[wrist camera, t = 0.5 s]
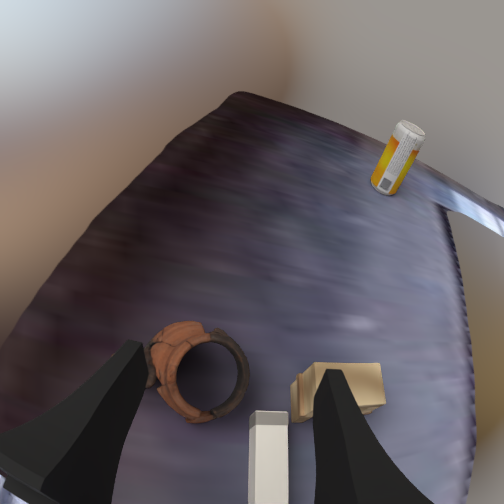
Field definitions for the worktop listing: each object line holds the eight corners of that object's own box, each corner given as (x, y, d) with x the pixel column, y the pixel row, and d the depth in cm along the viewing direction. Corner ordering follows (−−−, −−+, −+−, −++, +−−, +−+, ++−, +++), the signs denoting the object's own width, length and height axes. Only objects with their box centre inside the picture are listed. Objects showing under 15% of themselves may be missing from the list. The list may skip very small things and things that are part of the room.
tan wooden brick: (354, 420, 28) (389, 403, 23) (288, 423, 27) (313, 407, 22) (350, 385, 30) (382, 362, 26) (287, 384, 29) (310, 361, 25)
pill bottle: (393, 186, 62) (424, 129, 51) (395, 201, 57) (429, 140, 47) (369, 174, 62) (397, 115, 51) (368, 189, 58) (400, 125, 47)
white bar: (278, 557, 17) (288, 564, 15) (246, 559, 16) (253, 567, 14) (278, 417, 27) (288, 411, 25) (249, 416, 27) (255, 410, 24)
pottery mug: (212, 321, 33) (253, 315, 27) (220, 405, 31) (263, 420, 24) (100, 324, 27) (110, 320, 20) (110, 418, 25) (124, 445, 18)
